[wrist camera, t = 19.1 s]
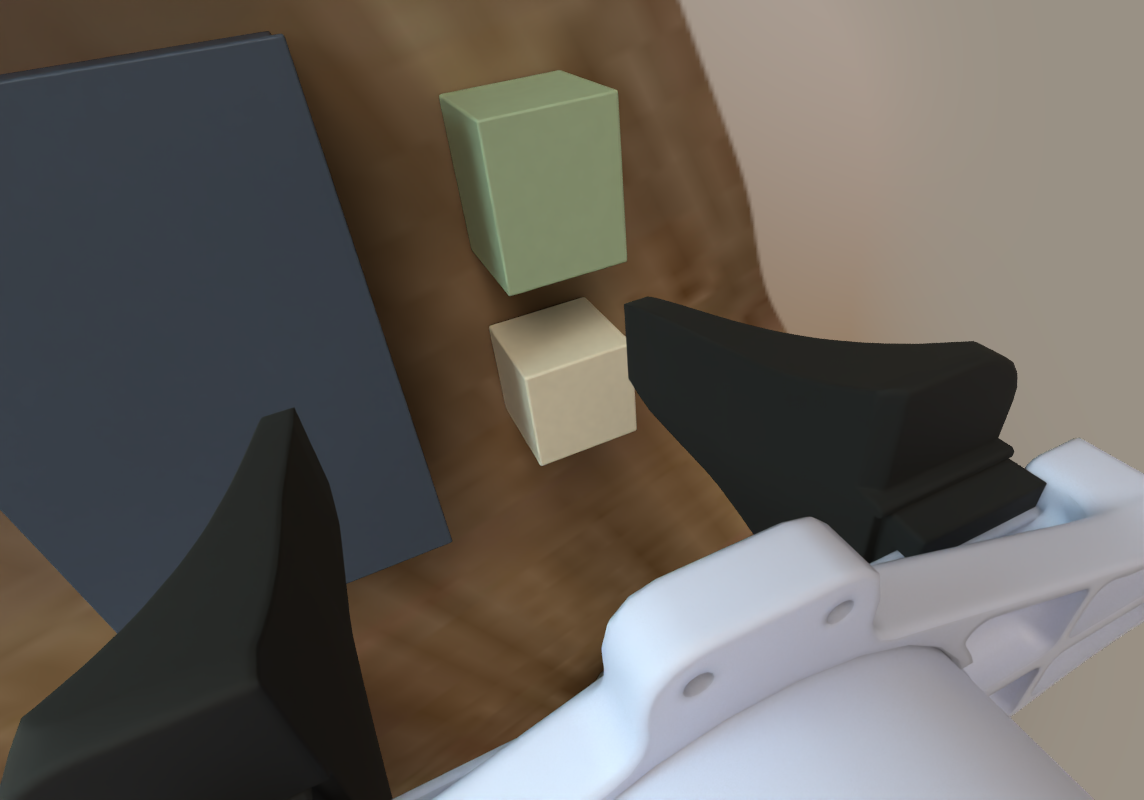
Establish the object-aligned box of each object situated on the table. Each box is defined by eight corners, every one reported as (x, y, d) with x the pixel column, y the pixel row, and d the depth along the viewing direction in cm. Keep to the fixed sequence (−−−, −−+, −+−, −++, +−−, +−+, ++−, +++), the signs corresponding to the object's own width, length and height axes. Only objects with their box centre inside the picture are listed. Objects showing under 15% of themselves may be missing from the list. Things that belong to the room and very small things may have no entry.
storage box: (427, 475, 26) (452, 542, 23) (156, 574, 24) (145, 664, 21) (274, 20, 16) (284, 35, 13) (-224, 99, 14) (-351, 140, 11)
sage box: (576, 222, 23) (628, 262, 20) (471, 250, 22) (509, 297, 19) (560, 69, 20) (618, 89, 17) (437, 94, 19) (476, 120, 16)
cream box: (593, 378, 27) (637, 430, 24) (505, 408, 26) (540, 467, 23) (584, 295, 25) (633, 342, 22) (487, 325, 24) (524, 378, 21)
